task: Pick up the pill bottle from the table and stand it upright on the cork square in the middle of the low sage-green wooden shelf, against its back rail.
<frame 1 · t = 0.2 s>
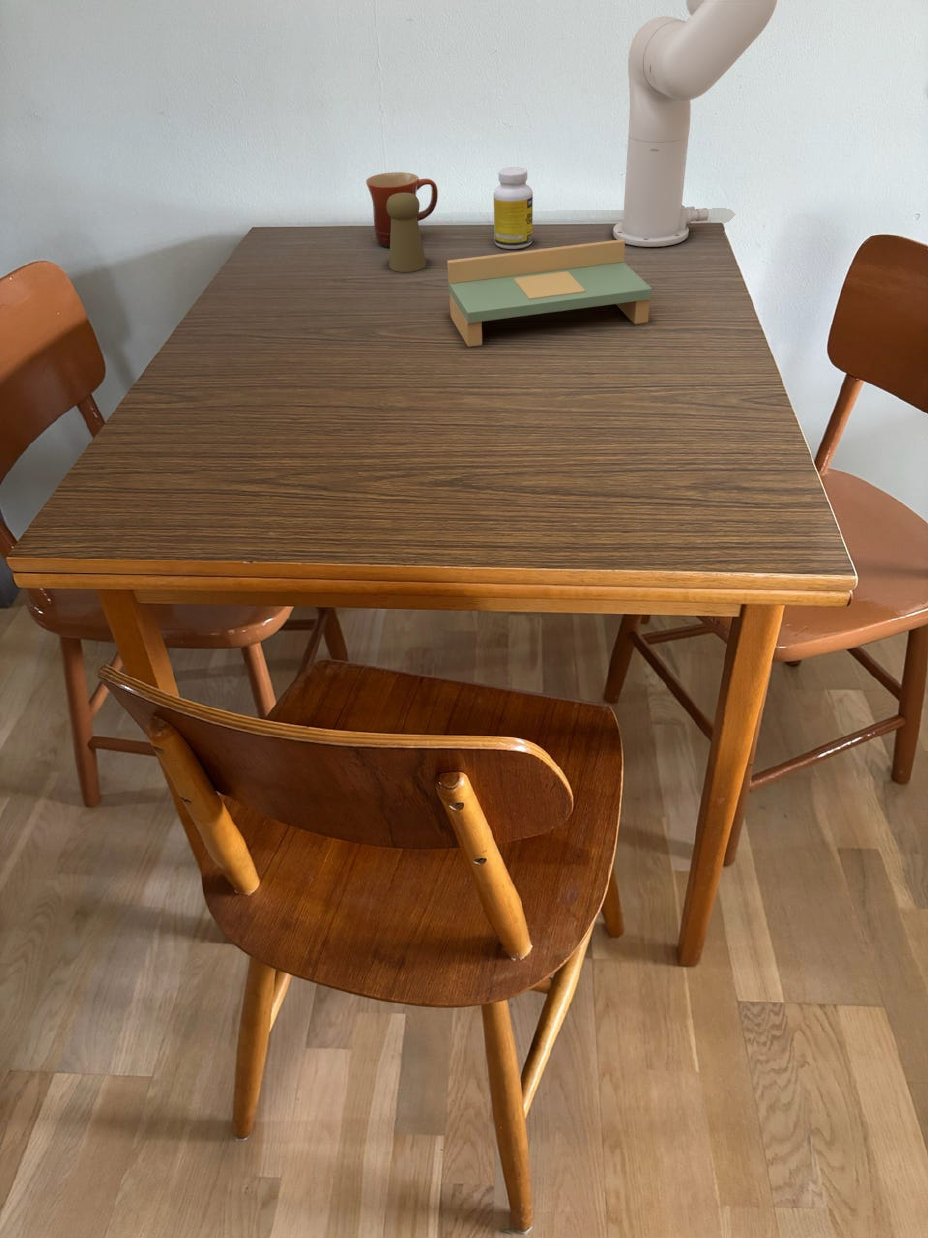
mug: (406, 242, 166), on the table
shelf: (547, 319, 136), on the table
pill bottle: (513, 245, 162), on the table
pepper shaker: (407, 266, 156), on the table
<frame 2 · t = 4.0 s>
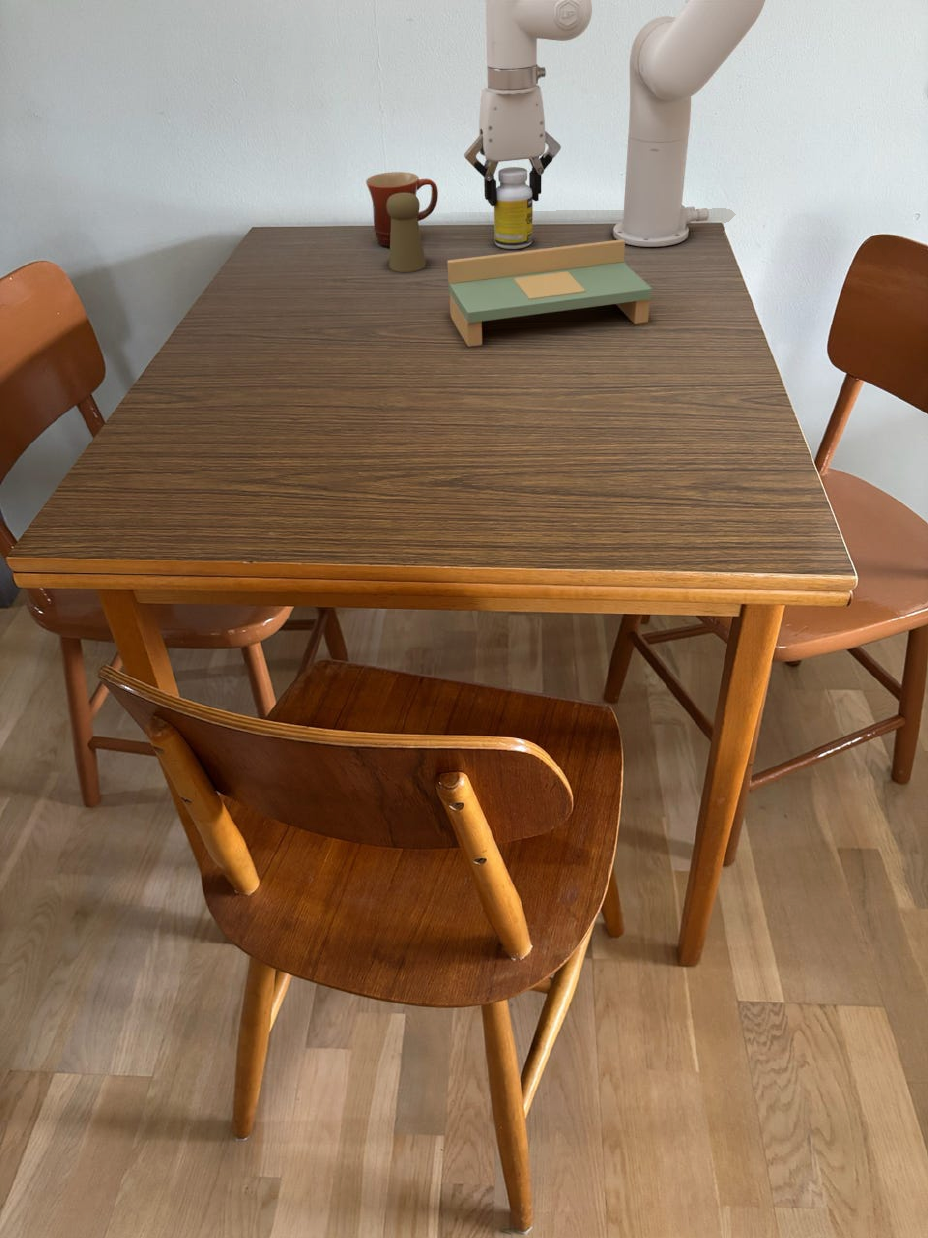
hand: (513, 200, 158), 7 cm above the table, tool pointing down, fingers closed on pill bottle, 6 cm apart
pill bottle: (513, 245, 162), on the table, touching gripper
everything else where it was.
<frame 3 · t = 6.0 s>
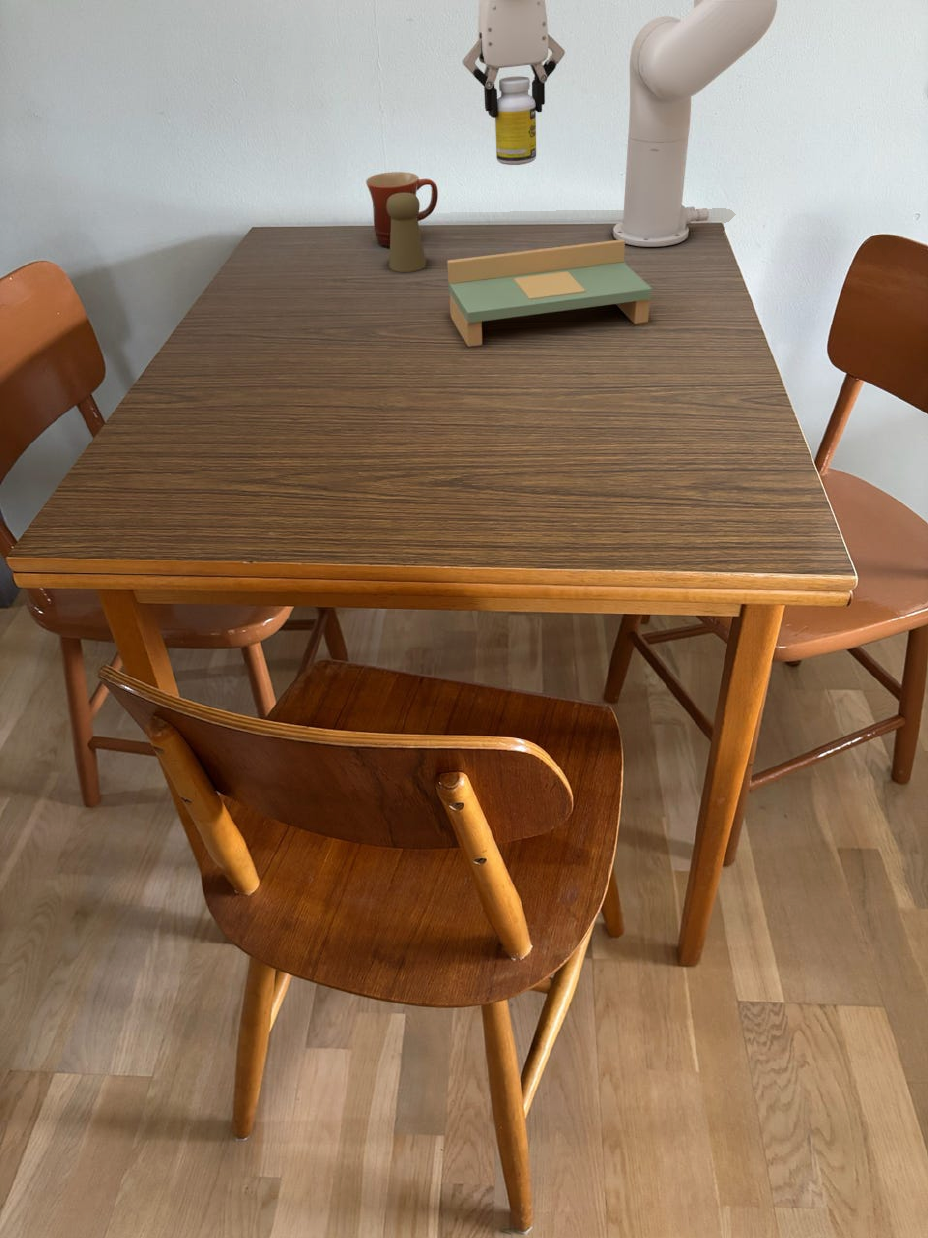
hand: (515, 111, 149), 20 cm above the table, tool pointing down, fingers closed on pill bottle, 6 cm apart
pill bottle: (516, 162, 154), point 13 cm above the table, touching gripper
everything else where it was.
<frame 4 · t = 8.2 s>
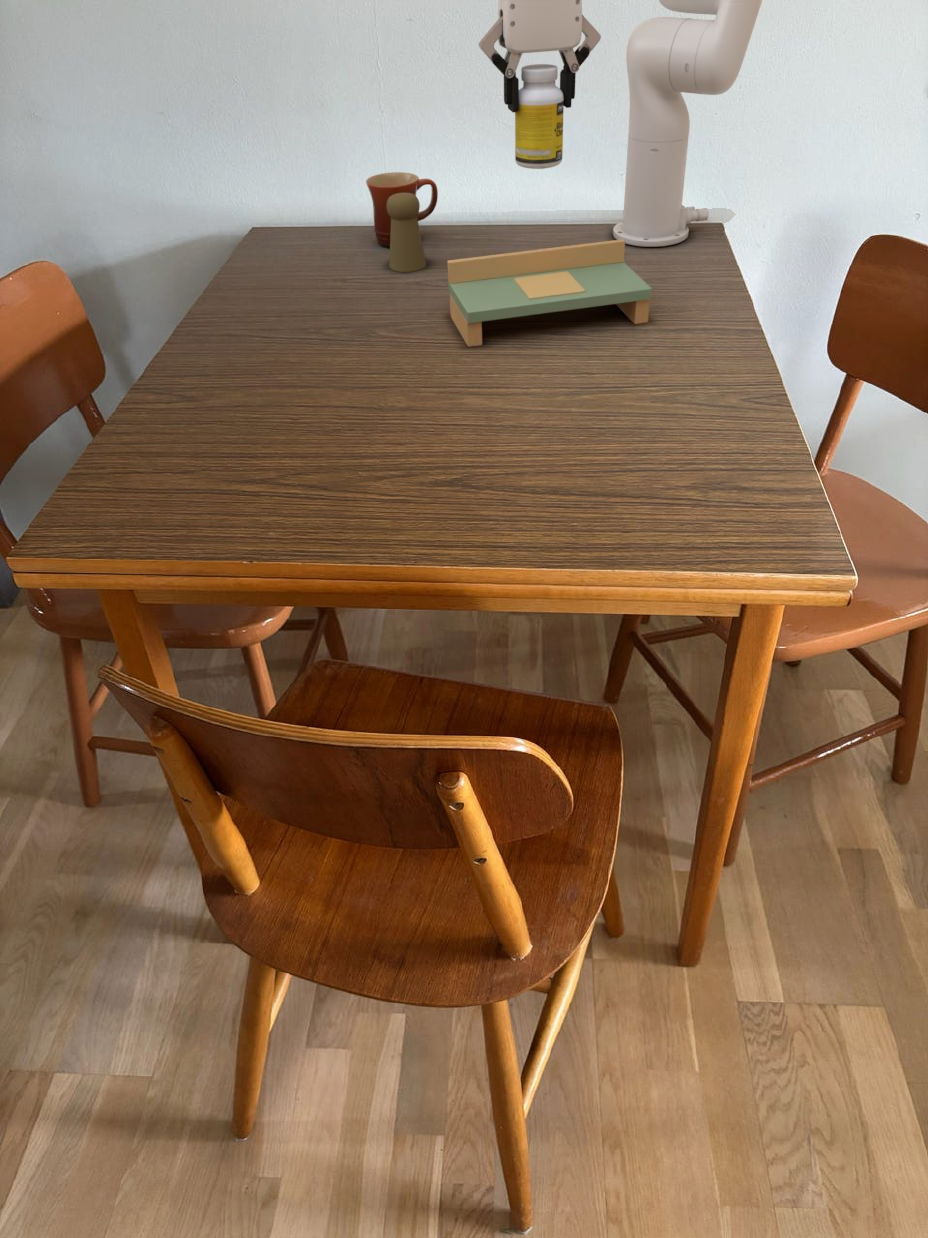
hand: (539, 106, 126), 26 cm above the table, tool pointing down, fingers closed on pill bottle, 6 cm apart
pill bottle: (538, 165, 131), point 19 cm above the table, touching gripper
everything else where it was.
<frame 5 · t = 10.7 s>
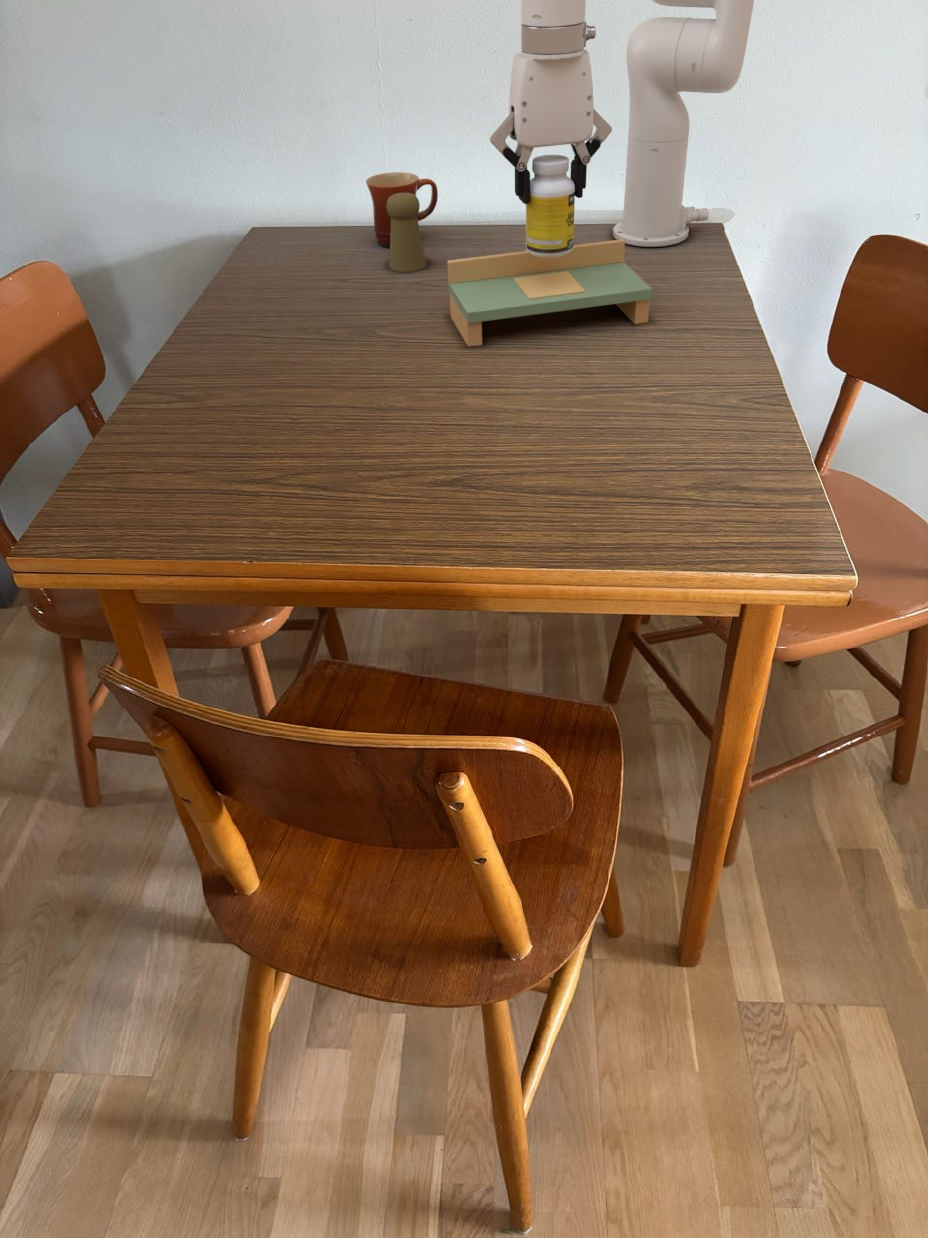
hand: (550, 196, 126), 17 cm above the table, tool pointing down, fingers closed on pill bottle, 6 cm apart
pill bottle: (549, 252, 130), point 10 cm above the table, touching gripper
everything else where it was.
when the fingers open (12 cm above the table, at t = 12.4 s): pill bottle stays where it is, resting on shelf.
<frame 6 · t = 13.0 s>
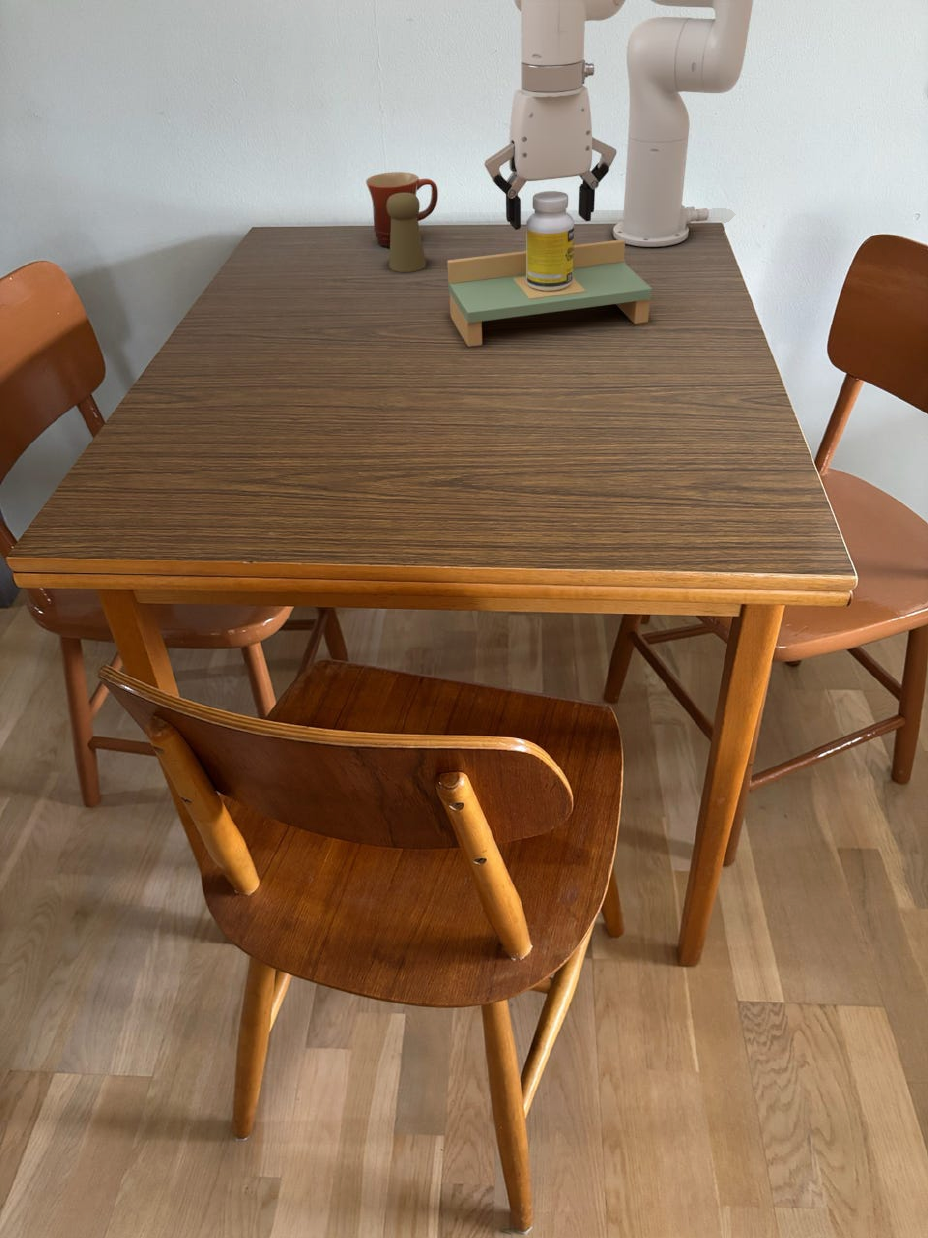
hand: (550, 222, 128), 13 cm above the table, tool pointing down, fingers open, 9 cm apart
pill bottle: (549, 285, 133), point 5 cm above the table, touching shelf
everything else where it was.
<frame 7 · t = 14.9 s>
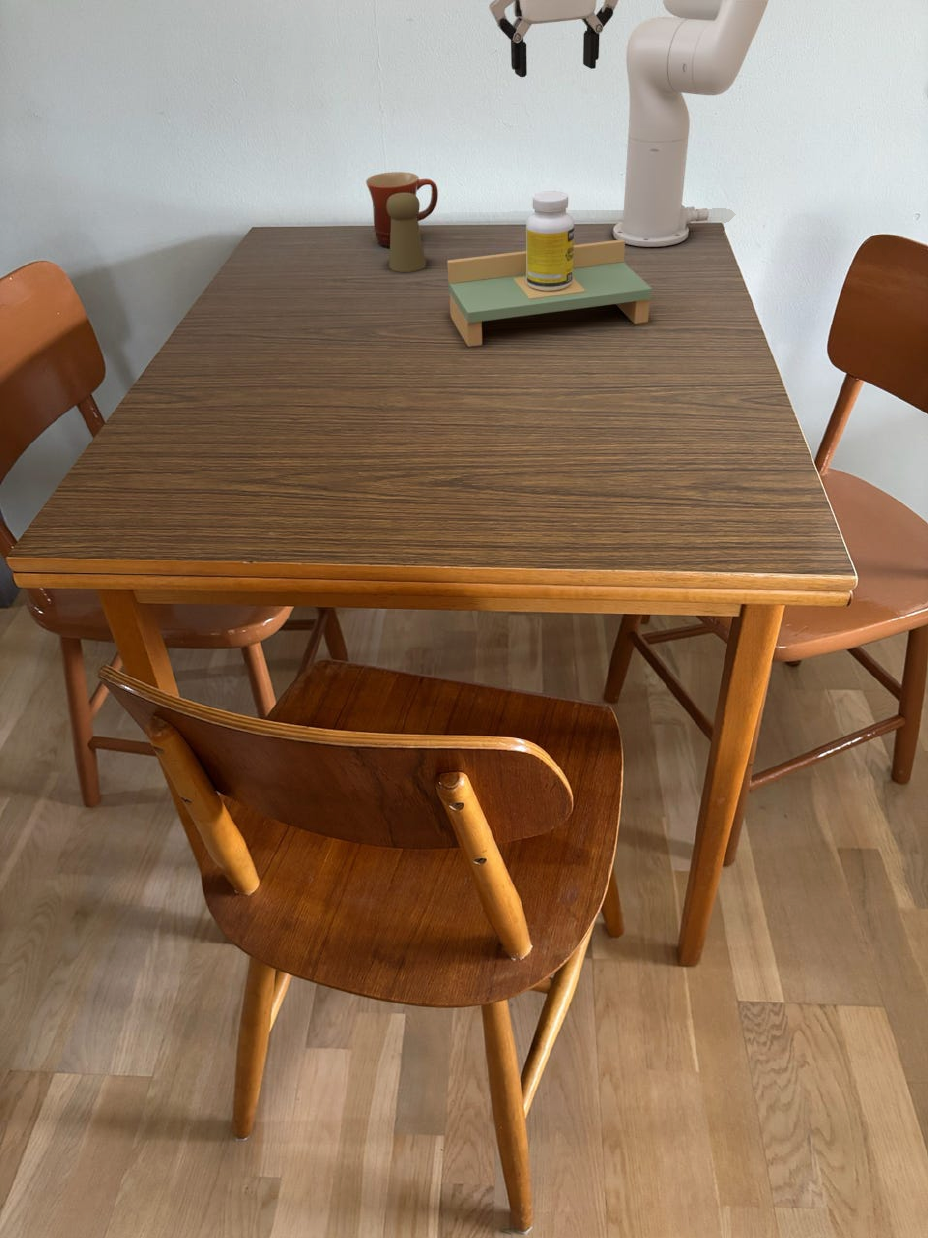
hand: (555, 70, 128), 29 cm above the table, tool pointing down, fingers open, 9 cm apart
nothing on the table moved.
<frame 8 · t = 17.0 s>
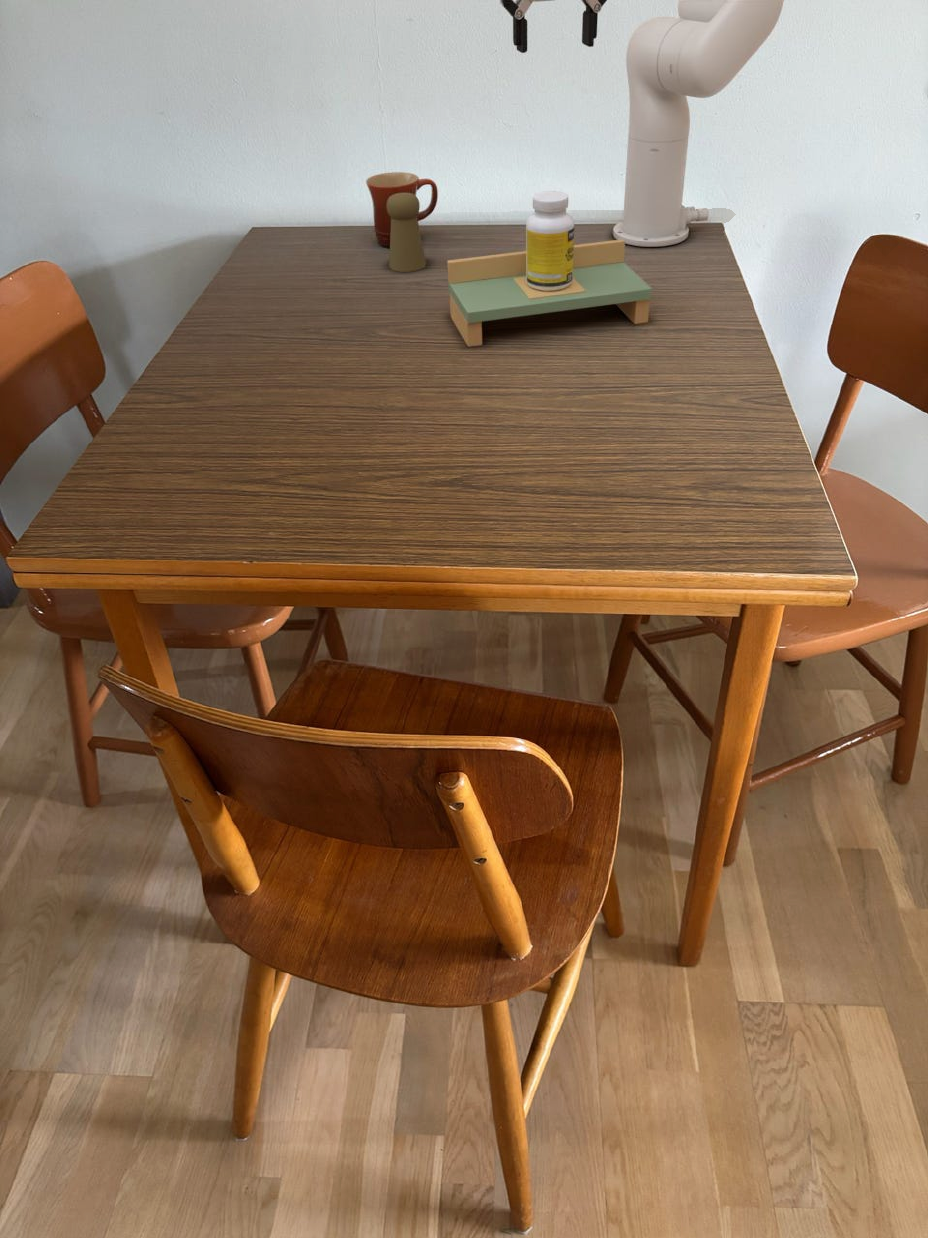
hand: (554, 47, 134), 30 cm above the table, tool pointing down, fingers open, 9 cm apart
nothing on the table moved.
at the end: pill bottle inside the target area on the shelf (0.1 cm from its centre), point 5.0 cm above the shelf's base; pill bottle tilted 0°; the gripper is holding nothing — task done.
